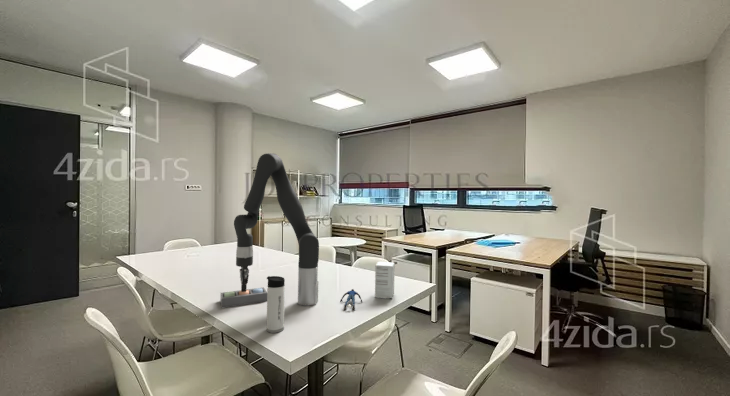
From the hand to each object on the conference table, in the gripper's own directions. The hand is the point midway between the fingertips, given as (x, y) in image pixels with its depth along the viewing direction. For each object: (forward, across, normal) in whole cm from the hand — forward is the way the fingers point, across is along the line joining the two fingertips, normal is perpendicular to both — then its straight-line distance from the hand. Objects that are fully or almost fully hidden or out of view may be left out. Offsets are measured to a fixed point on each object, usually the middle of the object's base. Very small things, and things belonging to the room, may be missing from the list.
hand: (243, 291), depth 141 cm
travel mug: (+5, +38, +7) cm, 39 cm away
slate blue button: (+3, 0, +6) cm, 7 cm away
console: (+5, 0, 0) cm, 5 cm away
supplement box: (+5, +23, +66) cm, 70 cm away
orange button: (+3, 0, 0) cm, 4 cm away
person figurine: (+5, +27, +45) cm, 52 cm away
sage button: (+3, 0, -6) cm, 7 cm away
